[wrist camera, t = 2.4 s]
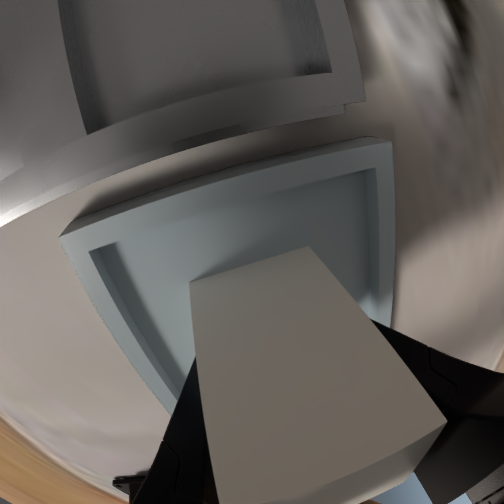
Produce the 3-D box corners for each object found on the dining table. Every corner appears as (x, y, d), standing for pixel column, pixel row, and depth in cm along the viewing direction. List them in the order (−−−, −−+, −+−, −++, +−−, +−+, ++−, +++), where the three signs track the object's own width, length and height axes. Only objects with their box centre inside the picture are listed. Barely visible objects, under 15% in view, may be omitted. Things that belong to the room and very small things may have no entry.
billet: (319, 332, 12) (404, 481, 6) (223, 363, 11) (266, 534, 5) (308, 245, 10) (447, 421, 4) (188, 282, 10) (221, 511, 3)
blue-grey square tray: (374, 345, 14) (385, 360, 13) (180, 409, 13) (182, 428, 12) (370, 136, 9) (391, 141, 8) (71, 221, 8) (58, 237, 7)
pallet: (329, 112, 8) (368, 116, 7) (-73, 268, 7) (-98, 295, 5) (272, -90, 5) (294, -122, 3) (-117, 109, 3) (-147, 119, 1)
